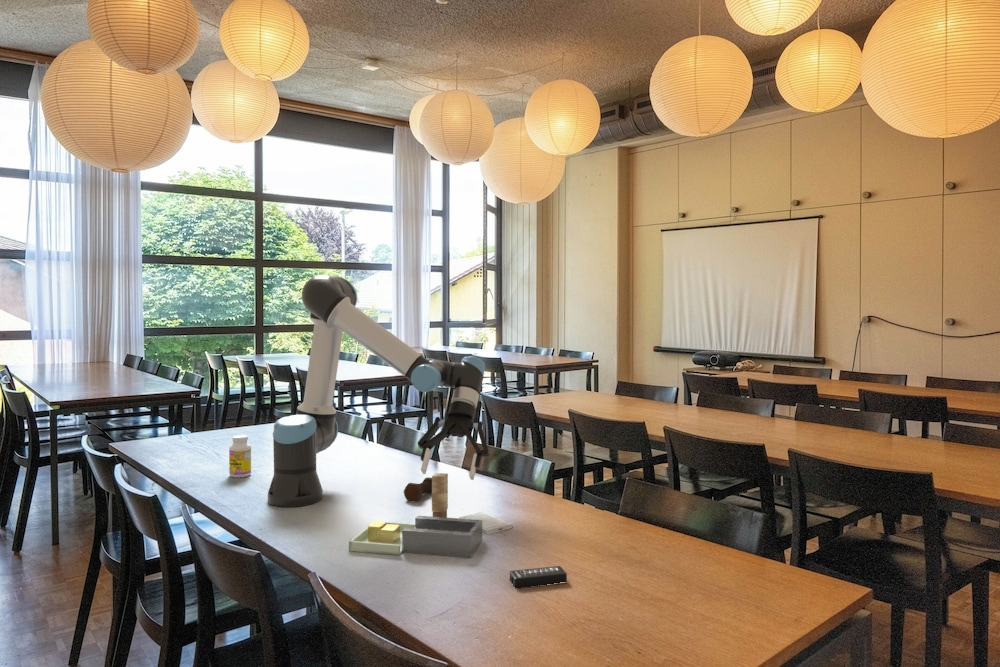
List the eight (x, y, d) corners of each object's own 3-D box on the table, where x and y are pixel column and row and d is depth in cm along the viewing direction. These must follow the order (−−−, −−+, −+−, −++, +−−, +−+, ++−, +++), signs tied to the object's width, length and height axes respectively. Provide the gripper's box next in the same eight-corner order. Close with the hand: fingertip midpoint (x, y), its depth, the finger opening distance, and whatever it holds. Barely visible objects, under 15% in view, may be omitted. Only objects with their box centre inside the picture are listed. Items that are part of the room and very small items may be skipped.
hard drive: (457, 517, 176) (487, 529, 166) (482, 511, 181) (513, 523, 171) (457, 523, 176) (487, 536, 166) (482, 517, 181) (513, 529, 171)
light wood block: (380, 541, 159) (368, 540, 159) (386, 536, 163) (374, 535, 163) (380, 527, 159) (368, 526, 159) (386, 521, 163) (374, 520, 163)
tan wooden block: (379, 542, 159) (379, 529, 159) (386, 536, 163) (386, 524, 162) (393, 543, 158) (393, 530, 158) (399, 537, 162) (399, 525, 162)
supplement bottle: (224, 476, 220) (224, 437, 219) (239, 472, 226) (239, 433, 225) (241, 479, 217) (240, 439, 216) (255, 474, 223) (255, 435, 223)
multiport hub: (567, 584, 137) (567, 573, 137) (515, 590, 134) (515, 579, 134) (560, 576, 141) (560, 565, 141) (509, 581, 139) (509, 570, 139)
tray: (348, 551, 154) (348, 541, 154) (374, 529, 169) (374, 521, 169) (399, 555, 152) (399, 545, 152) (420, 533, 166) (420, 524, 166)
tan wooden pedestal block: (431, 528, 170) (431, 476, 170) (436, 522, 175) (436, 472, 174) (443, 528, 170) (443, 477, 169) (448, 523, 174) (448, 473, 174)
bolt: (438, 494, 207) (413, 506, 193) (426, 485, 208) (400, 496, 195) (447, 479, 206) (423, 490, 192) (434, 469, 207) (409, 479, 193)
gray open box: (402, 552, 154) (402, 530, 153) (418, 536, 164) (417, 515, 164) (470, 557, 150) (470, 535, 150) (482, 541, 161) (482, 520, 161)
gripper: (507, 416, 196) (493, 485, 184) (425, 408, 201) (406, 475, 190) (504, 403, 190) (489, 474, 178) (419, 395, 195) (400, 463, 184)
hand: (447, 475), depth 184 cm, fingers open, 13 cm apart
